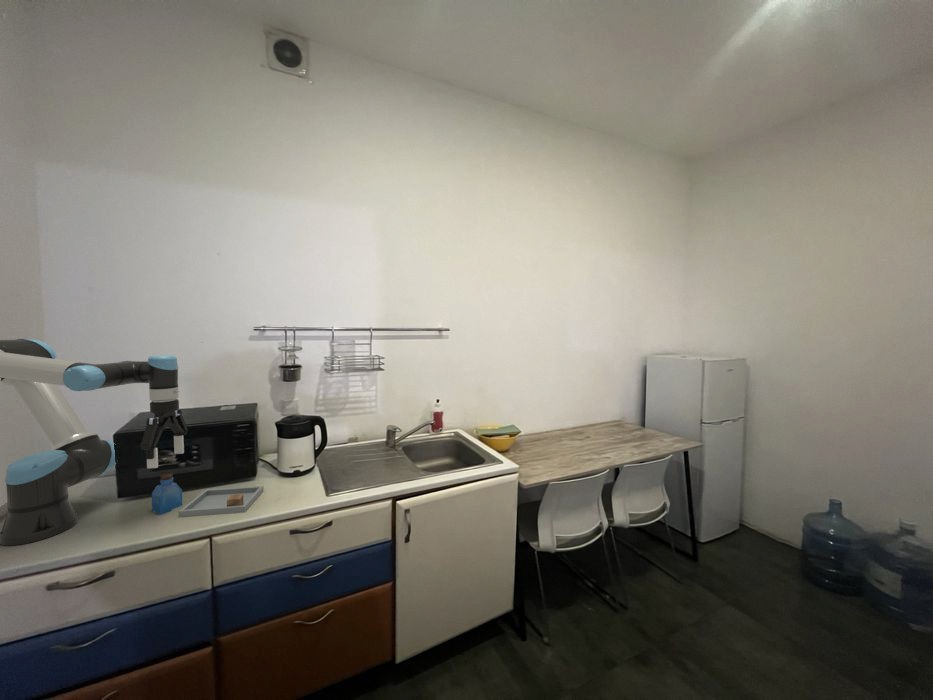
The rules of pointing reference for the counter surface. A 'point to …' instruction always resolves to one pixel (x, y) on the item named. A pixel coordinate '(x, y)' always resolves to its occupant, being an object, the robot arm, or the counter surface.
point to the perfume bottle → (166, 495)
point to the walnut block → (235, 500)
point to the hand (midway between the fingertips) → (166, 460)
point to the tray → (220, 501)
